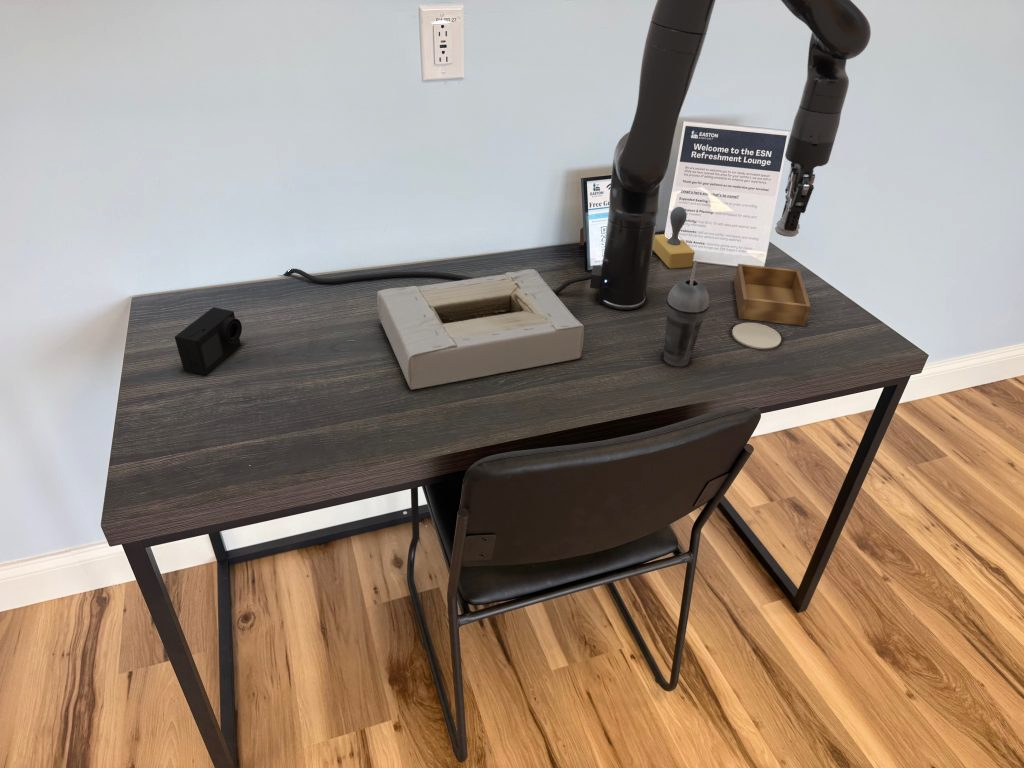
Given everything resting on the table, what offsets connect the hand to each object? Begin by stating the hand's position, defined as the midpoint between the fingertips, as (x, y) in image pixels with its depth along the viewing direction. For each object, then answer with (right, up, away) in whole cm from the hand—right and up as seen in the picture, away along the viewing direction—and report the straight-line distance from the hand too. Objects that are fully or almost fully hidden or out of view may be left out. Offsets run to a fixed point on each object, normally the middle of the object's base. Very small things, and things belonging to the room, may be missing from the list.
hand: (788, 224), depth 139 cm
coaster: (-6, -21, -1) cm, 22 cm away
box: (-59, -23, -5) cm, 63 cm away
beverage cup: (-23, -26, -8) cm, 36 cm away
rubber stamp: (-17, -2, +26) cm, 31 cm away
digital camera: (-104, -26, -12) cm, 108 cm away
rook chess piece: (0, -1, +1) cm, 2 cm away
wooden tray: (0, -14, +10) cm, 17 cm away
